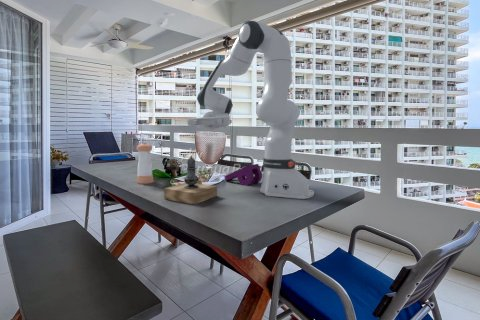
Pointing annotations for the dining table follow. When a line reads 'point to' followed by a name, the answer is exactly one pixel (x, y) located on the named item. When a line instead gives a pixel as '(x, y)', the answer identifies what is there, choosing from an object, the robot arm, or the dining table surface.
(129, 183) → the dining table surface
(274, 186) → the robot arm
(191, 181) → the dark grey upright piece
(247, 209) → the dining table surface
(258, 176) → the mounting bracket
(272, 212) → the dining table surface
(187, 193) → the stand
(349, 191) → the dining table surface
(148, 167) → the salt shaker
